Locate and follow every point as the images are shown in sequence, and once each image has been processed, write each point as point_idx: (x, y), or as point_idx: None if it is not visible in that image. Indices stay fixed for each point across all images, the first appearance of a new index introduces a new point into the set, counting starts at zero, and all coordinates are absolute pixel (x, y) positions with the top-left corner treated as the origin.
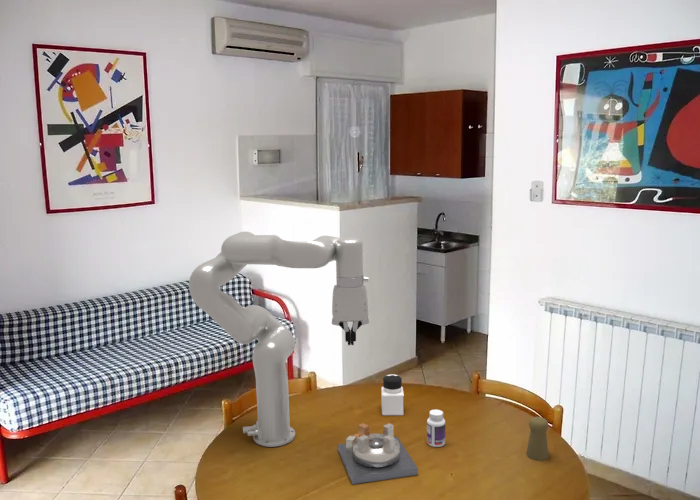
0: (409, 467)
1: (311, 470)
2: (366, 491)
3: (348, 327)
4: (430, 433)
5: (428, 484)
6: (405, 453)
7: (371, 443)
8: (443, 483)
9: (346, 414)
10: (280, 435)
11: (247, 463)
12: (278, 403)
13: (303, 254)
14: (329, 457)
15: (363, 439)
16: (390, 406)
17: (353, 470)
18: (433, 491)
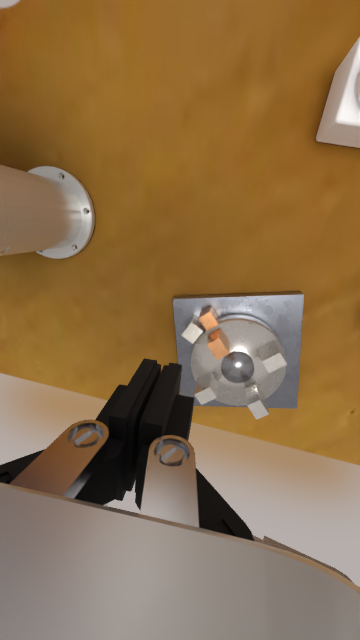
0: (282, 403)
1: (124, 347)
2: (200, 418)
3: (104, 476)
4: None
5: (299, 426)
6: (294, 360)
7: (226, 373)
8: (325, 430)
9: (221, 116)
10: (60, 246)
11: (23, 302)
12: (7, 253)
13: None
14: (157, 314)
15: (203, 403)
16: (347, 137)
17: (186, 388)
18: (299, 443)
